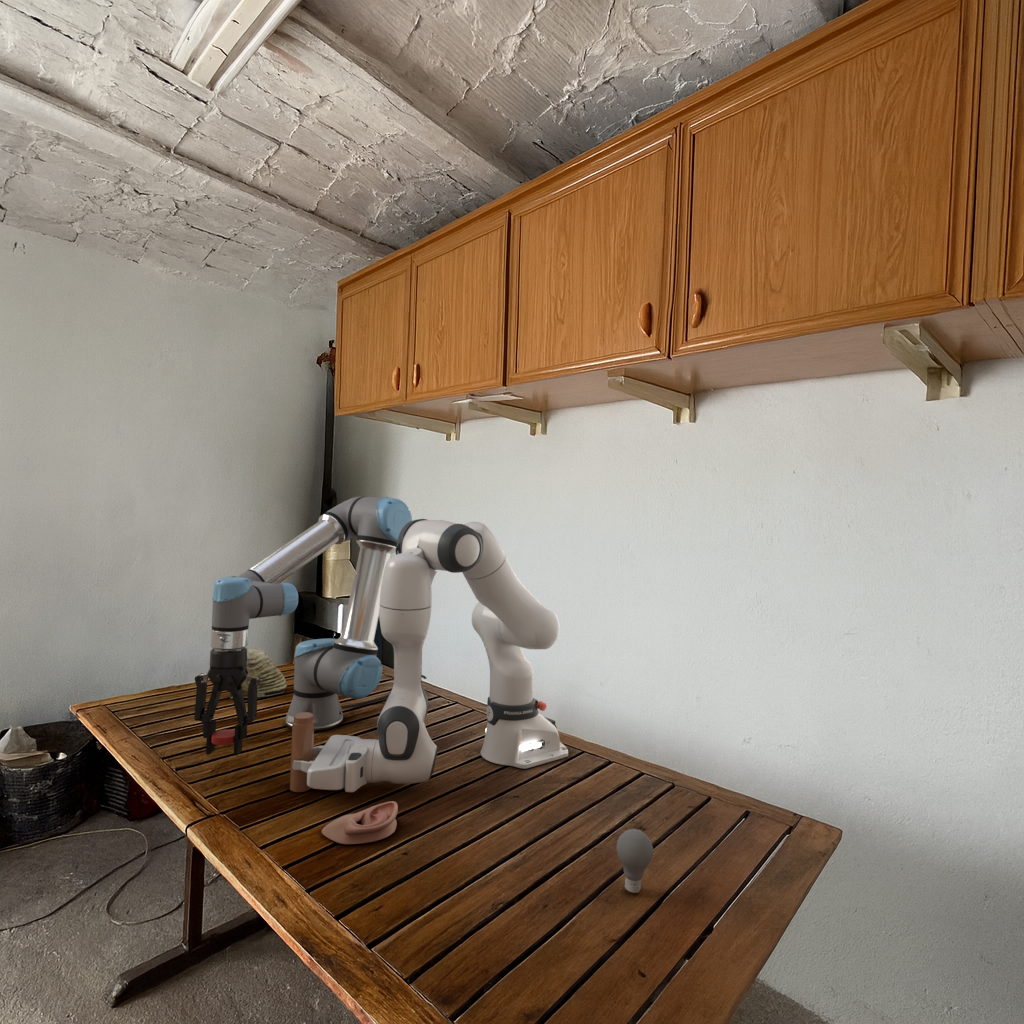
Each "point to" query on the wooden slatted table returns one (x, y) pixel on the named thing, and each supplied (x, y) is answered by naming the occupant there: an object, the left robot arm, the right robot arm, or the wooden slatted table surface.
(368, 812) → the anatomical model
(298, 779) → the jar
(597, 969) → the wooden slatted table surface
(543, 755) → the right robot arm
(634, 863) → the light bulb
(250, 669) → the fossil
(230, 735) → the lid
